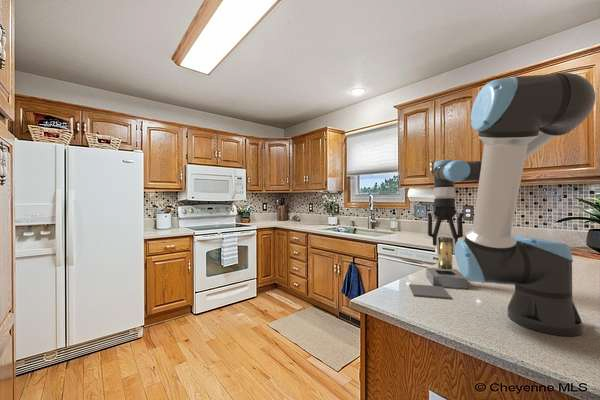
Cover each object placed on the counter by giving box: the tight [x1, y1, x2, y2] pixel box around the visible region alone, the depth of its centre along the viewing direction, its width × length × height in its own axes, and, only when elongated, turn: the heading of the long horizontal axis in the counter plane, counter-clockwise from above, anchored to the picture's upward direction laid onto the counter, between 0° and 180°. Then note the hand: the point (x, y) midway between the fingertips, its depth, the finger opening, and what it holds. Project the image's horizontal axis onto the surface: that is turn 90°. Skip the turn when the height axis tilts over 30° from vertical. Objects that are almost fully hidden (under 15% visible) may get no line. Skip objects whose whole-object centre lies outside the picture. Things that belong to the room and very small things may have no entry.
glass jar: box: [437, 236, 454, 269], centre depth 108 cm, size 5×5×12 cm
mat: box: [408, 283, 452, 300], centre depth 97 cm, size 12×12×1 cm
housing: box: [425, 267, 469, 290], centre depth 108 cm, size 14×12×4 cm
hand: (445, 253), depth 108 cm, fingers closed on glass jar, 5 cm apart
